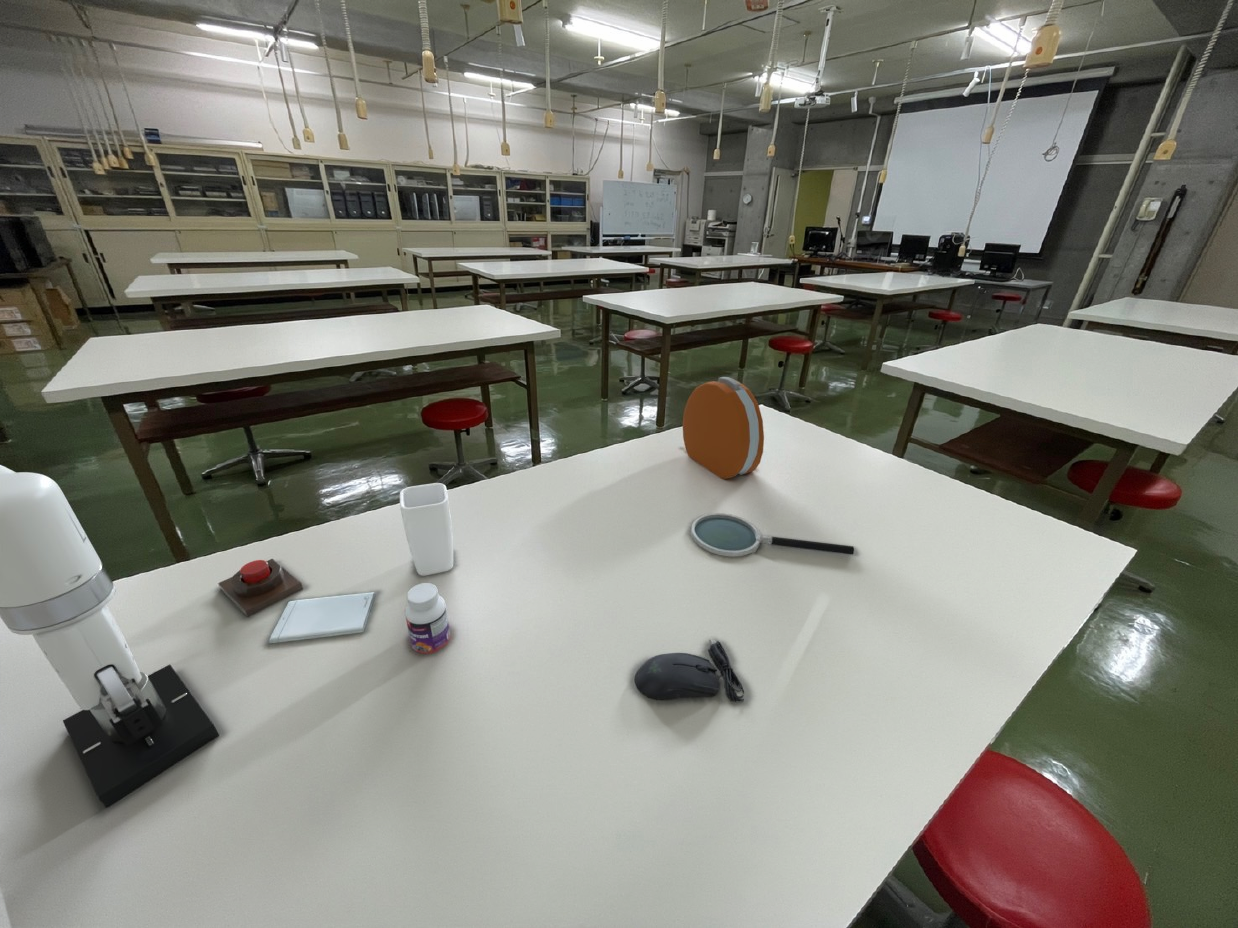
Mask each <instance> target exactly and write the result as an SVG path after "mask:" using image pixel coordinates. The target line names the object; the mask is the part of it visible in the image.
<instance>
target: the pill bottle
mask: <svg viewBox="0 0 1238 928" xmlns="http://www.w3.org/2000/svg"><path fill="white" fill-rule="evenodd" d="M406 599H407V604H406V607H405V609H404V616H405V621H406V626H407V631H408V636H409V640H410V645H411V647H412V649H413V650H414V651H415V652H417V653H420V654H430V653H434V652H437V651H439V650H441V649H442V648H444V647H445V646H446V645H447V644H448V642H449V641H450V640H451V639H450V638H451V631H450V624H449V617H448V612H447V605H446V601H445V600H444V598H443V597H442V596H441V595H440V594H439V591H438V587H437V586H436V585H435V584H433V583H430V582H422V583H418V584H416V585H414V586H413V587H411V588H410V589H409V590H408V592H407V593H406Z"/></svg>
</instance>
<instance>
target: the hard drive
mask: <svg viewBox="0 0 1238 928" xmlns="http://www.w3.org/2000/svg"><path fill="white" fill-rule="evenodd" d="M375 598H376V592H375V591H373V592H372V591H371V592H363V593H362V592H361V593H353V594H343V595H333V596H324V597H315V598H306V599H297V600H290V601H288V603H287V604H286V606H285V608H284V610H283V612H282V614H281V615H280V618H279V619H278V621H277V623H276V625H275V627H274V629H273V631H272V633H271V635H270V636H269V639H268V643H269V644H275V643H283V642H292V641H293V642H294V641H301V640H308V639H317V638H325V637H326V638H327V637H334V636H343V635H351V634H359V633H364V631H365V629H366V625H367V622H368V619H369V616H370V613H371V610H372V606H373V604H374V601H375Z"/></svg>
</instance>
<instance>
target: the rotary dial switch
mask: <svg viewBox="0 0 1238 928" xmlns="http://www.w3.org/2000/svg"><path fill="white" fill-rule="evenodd" d="M147 676H148V678H149V680H150V682H151V683H152V685H153V687H154V688H155V690H156V692H157V694H158V695H159V697H160V699H161V700H162V702H163V704H164V706H165V708H166V713H165V715H164V717H163V719H162V722H163V724H162V725H161V726H160V727H159V728H157V729H155V730H154V731H152V732H150V733H149V734H147V735H145V736H143V737H142V738H140V739H138V740H137V741H135V742H133V743H132V744H130V745H125V743H124V742H113V741H111V740H110V739H109V737H108V736H107V734H106V733H105V731H104V730H103V729H102V727H101V726H100V724H99V723H98V721H97V720H96V718H95V717H94V716H93V714H92V713H91V711H90V710H82V709H81V710H80V711H78V712H76V713H74V714H73V715H71V716H69V717H67V718H65V719H63V720H62V722H63V725H64V727H65V729H66V731H67V734H68V736H69V738H70V740H71V742H72V744H73V747H74V749H75V752H76V753H77V755H78V757H79V760H80V762H81V764H82V766H83V769H84V770H85V773H86V775H87V777H88V780H89V781H90V784H91V786H92V789H93V790H94V793H95V795H96V797H97V799H98V800H99V801H100V802H101V803H102V805H103V806H104V807H105V809H108V808H110V807H112V806H113V805H115V804H116V803H118V802H119V801H121V800H122V799H124V798H125V797H127V796H129V795H130V794H131V793H133V792H135V791H136V790H138V789H139V788H141V787H142V786H144V785H146V784H147V783H148V782H150V781H152V780H153V779H155V778H156V777H158V776H159V775H161V774H162V773H164V772H166V771H167V770H169V769H170V768H172V767H173V766H174V765H176V764H178V763H179V762H181V761H183V760H184V759H186V758H187V757H189V756H190V755H192V754H193V753H195V752H197V751H198V750H199V749H201V748H203V747H204V746H206V745H207V744H209V743H210V742H212V741H213V740H215V739H217V738H218V737H220V733H219V731H218V730H217V728H216V726H215V724H214V723H213V721H212V720H211V719H210V717H209V715H208V714H207V713H206V712H205V710H204V709H203V707H202V706H201V704H200V703H199V702H198V700H197V698H195V696H194V695H193V694H192V692H191V691H190V690H189V688H188V686H186V684H185V683H184V681H183V679H182V678H181V677H180V675H179V674H178V673H177V672H176V670H175V669H174V668H173V666H172V665H171V664H168V665H166V666H164V667H161V668H160V669H158V670H156V671H154V672H152V673H150V674H147Z"/></svg>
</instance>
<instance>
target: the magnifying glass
mask: <svg viewBox="0 0 1238 928" xmlns="http://www.w3.org/2000/svg"><path fill="white" fill-rule="evenodd" d="M690 529H691V530H690V534H691V537H692V540H693V541H694V542H695V543H696V545H698V546H699V547H700V548H702V549H704V550H705V551H707V552H710V553H711V554H715V555H718V556H723V557H733V558H734V557H742V556H747V555H749V554H755V553H756V552H757V551H758V549H759V548H760V544H767V545H772V546H780V547H788V548H796V549H803V550H804V549H805V550H813V551H821V552H827V553H837V554H844V555H845V554H846V555H851V556H852V555H854V553H855V547H854V545H853V546H852V545H844V544H837V543H827V542H819V541H812V540H803V539H796V538H787V537H780V536H779V537H778V536H766V535H765V536H764V535H761V532H760V530H759V529H758V528H757V527H756V526H755V525H754V524H753V523H751V521H749V520H747V519H745V518H743V517H741V516H738V515H734V514H730V513H725V512H724V513H723V512H712V513H706V514H702V515H701V516H699V517H697V518H696V519H695V520H693V522H692V524H691V528H690Z"/></svg>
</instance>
